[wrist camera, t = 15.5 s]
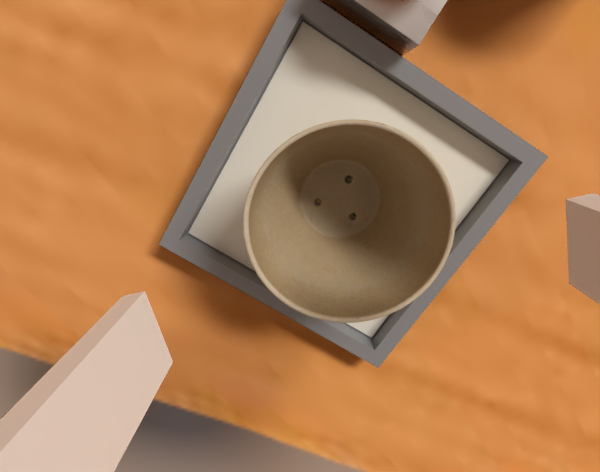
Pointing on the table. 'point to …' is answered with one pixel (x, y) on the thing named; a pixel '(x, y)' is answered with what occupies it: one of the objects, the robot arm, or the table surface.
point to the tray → (343, 106)
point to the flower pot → (349, 221)
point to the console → (392, 19)
